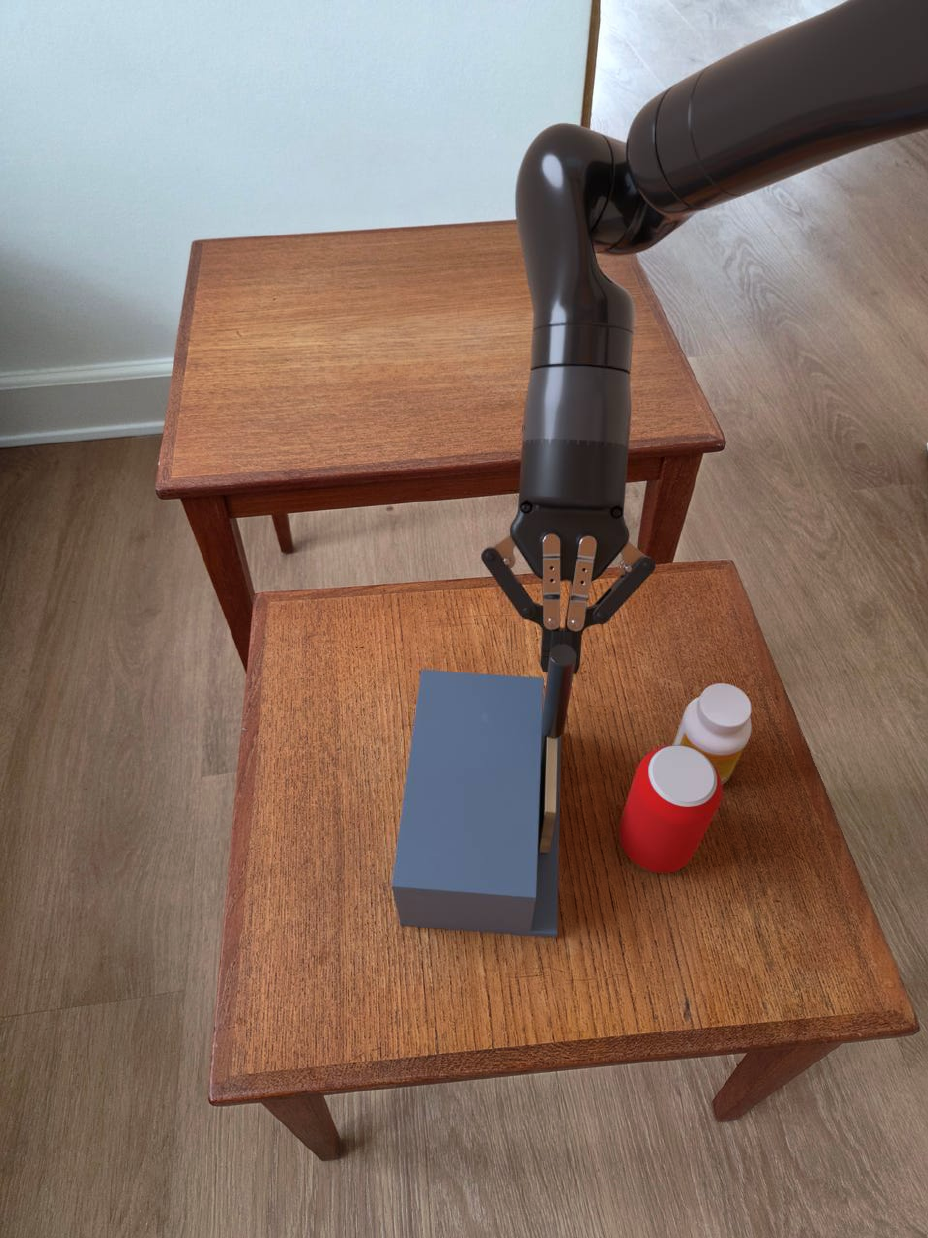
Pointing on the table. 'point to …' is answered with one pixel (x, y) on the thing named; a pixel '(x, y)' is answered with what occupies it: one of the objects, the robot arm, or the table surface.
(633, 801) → the beverage can
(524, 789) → the cabinet
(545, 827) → the brown flat handled piece
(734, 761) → the supplement bottle
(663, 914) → the table surface
